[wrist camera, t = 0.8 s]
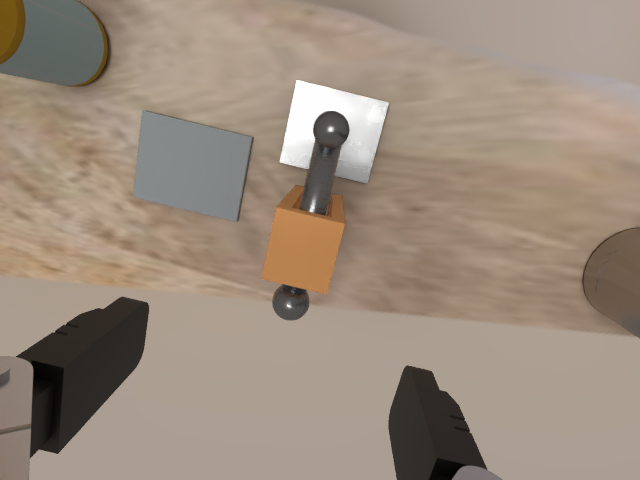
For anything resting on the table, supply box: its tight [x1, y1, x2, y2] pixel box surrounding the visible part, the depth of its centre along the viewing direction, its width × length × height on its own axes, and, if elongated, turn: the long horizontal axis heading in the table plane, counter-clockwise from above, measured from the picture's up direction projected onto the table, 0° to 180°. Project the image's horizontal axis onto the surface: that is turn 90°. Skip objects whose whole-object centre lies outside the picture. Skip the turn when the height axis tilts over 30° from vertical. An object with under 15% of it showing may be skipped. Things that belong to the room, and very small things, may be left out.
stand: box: [272, 80, 389, 320], centre depth 29 cm, size 8×16×14 cm, turn 167°
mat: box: [133, 111, 253, 222], centre depth 36 cm, size 10×8×1 cm
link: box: [261, 185, 345, 294], centre depth 28 cm, size 4×4×11 cm
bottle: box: [0, 0, 108, 86], centre depth 27 cm, size 7×7×15 cm
